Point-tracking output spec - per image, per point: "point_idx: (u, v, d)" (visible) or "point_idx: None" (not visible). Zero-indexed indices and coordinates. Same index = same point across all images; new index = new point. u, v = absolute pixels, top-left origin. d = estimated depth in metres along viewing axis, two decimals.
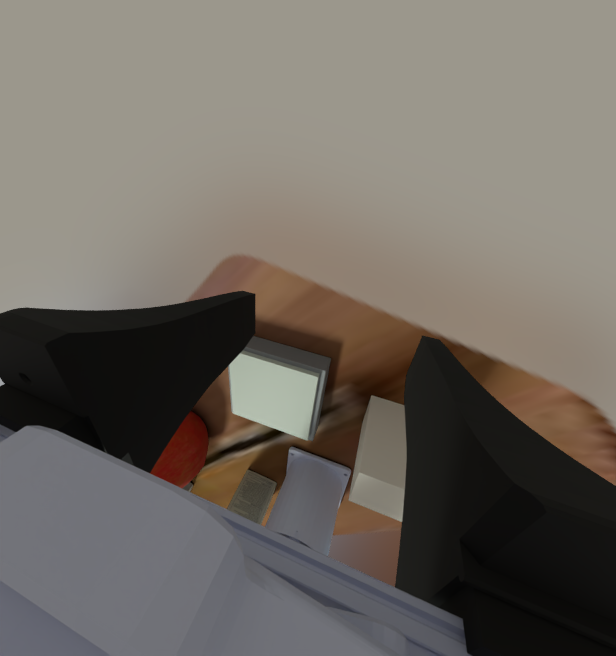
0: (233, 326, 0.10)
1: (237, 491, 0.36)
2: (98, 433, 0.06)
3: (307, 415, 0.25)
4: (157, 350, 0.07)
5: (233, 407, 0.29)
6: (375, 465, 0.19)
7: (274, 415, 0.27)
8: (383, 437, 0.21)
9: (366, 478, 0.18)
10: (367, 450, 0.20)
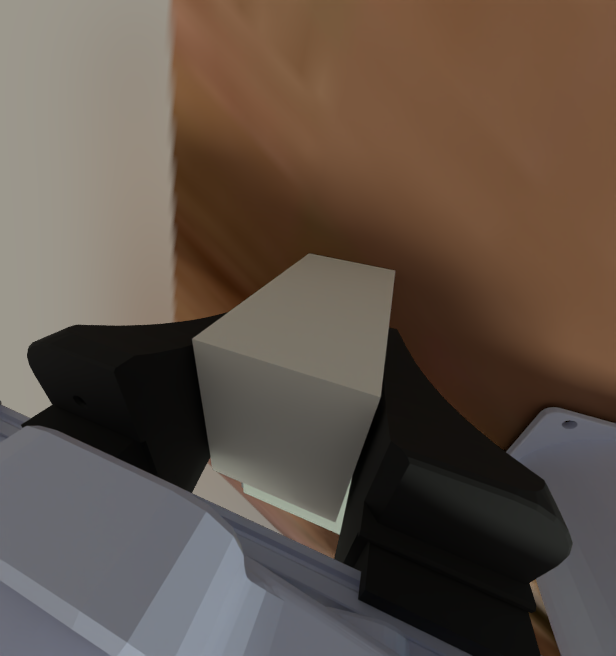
0: None
1: None
2: (152, 457, 0.05)
3: None
4: None
5: None
6: None
7: None
8: None
9: (222, 463, 0.08)
10: None
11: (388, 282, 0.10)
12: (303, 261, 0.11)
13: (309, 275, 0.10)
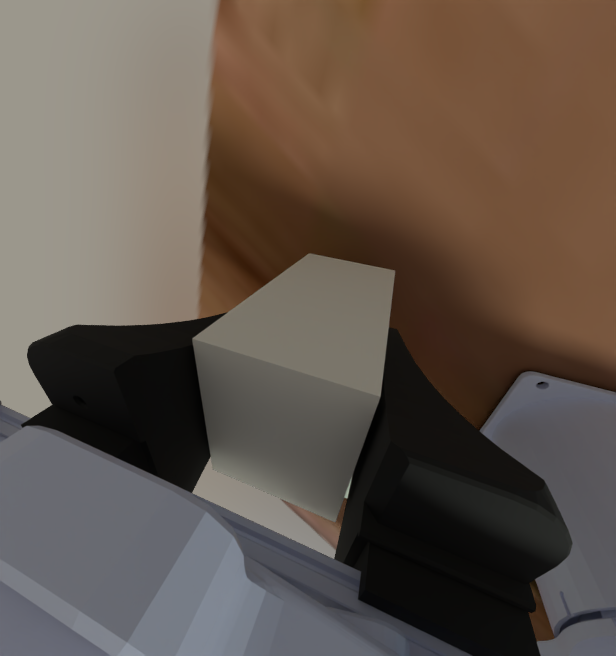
0: None
1: None
2: (152, 457, 0.05)
3: None
4: None
5: (347, 497, 0.21)
6: None
7: None
8: None
9: (222, 462, 0.08)
10: None
11: (388, 282, 0.10)
12: (303, 262, 0.11)
13: (309, 275, 0.10)
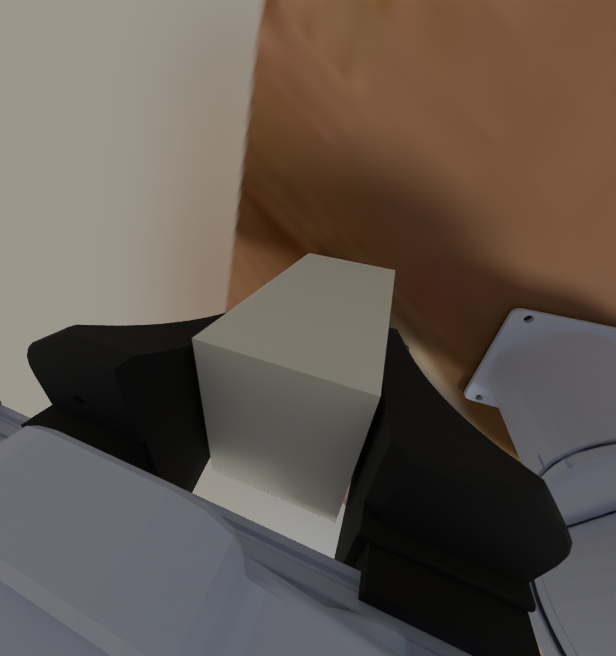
0: None
1: None
2: (153, 457, 0.05)
3: None
4: None
5: None
6: None
7: None
8: None
9: (221, 462, 0.08)
10: None
11: (389, 282, 0.10)
12: (303, 261, 0.11)
13: (309, 274, 0.10)
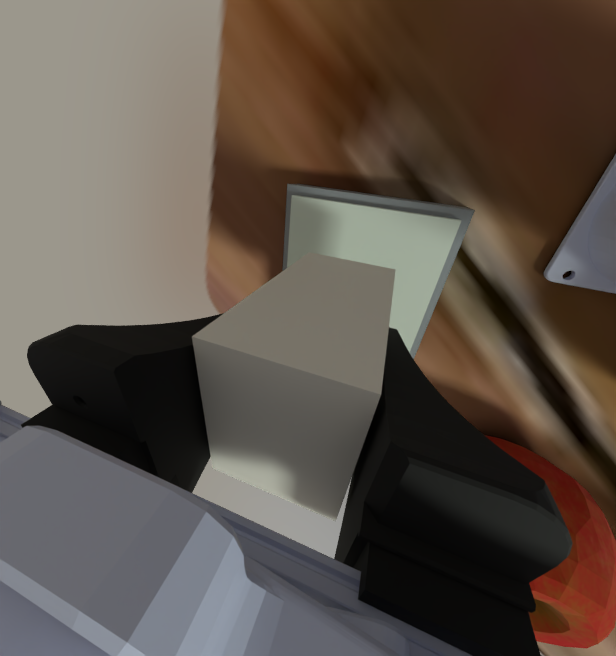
0: None
1: None
2: (152, 457, 0.05)
3: (382, 217, 0.14)
4: None
5: None
6: None
7: (395, 285, 0.15)
8: None
9: (221, 461, 0.08)
10: None
11: (389, 281, 0.10)
12: (303, 260, 0.11)
13: (309, 274, 0.10)
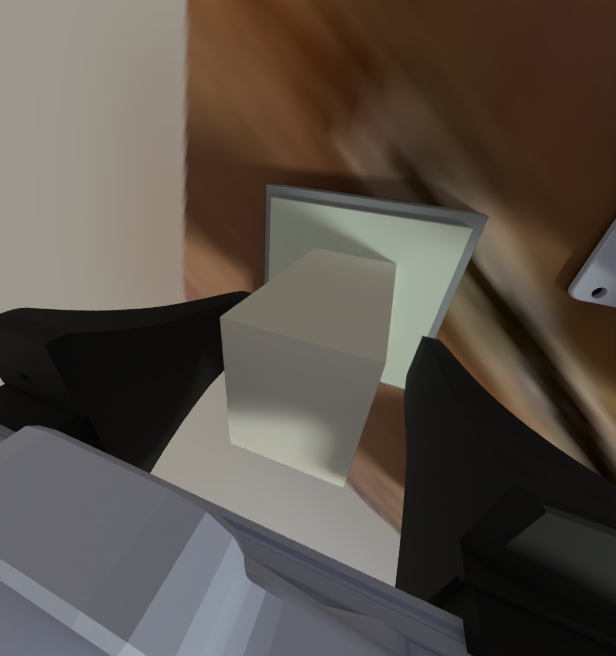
0: None
1: None
2: (98, 433, 0.06)
3: (377, 224, 0.11)
4: (157, 350, 0.07)
5: (388, 381, 0.15)
6: None
7: (393, 303, 0.13)
8: None
9: (239, 435, 0.08)
10: None
11: (391, 274, 0.11)
12: (310, 255, 0.12)
13: (317, 267, 0.10)
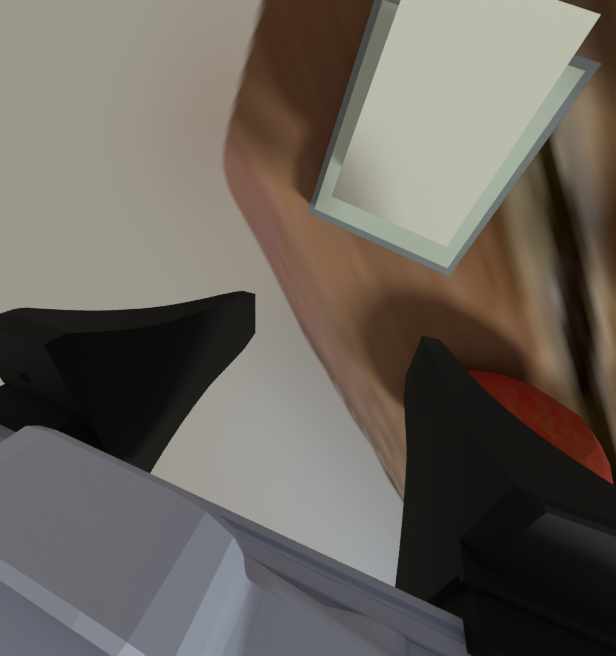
0: (233, 326, 0.10)
1: None
2: (98, 433, 0.06)
3: None
4: (157, 350, 0.07)
5: (433, 259, 0.15)
6: None
7: None
8: None
9: (350, 180, 0.08)
10: None
11: None
12: None
13: None
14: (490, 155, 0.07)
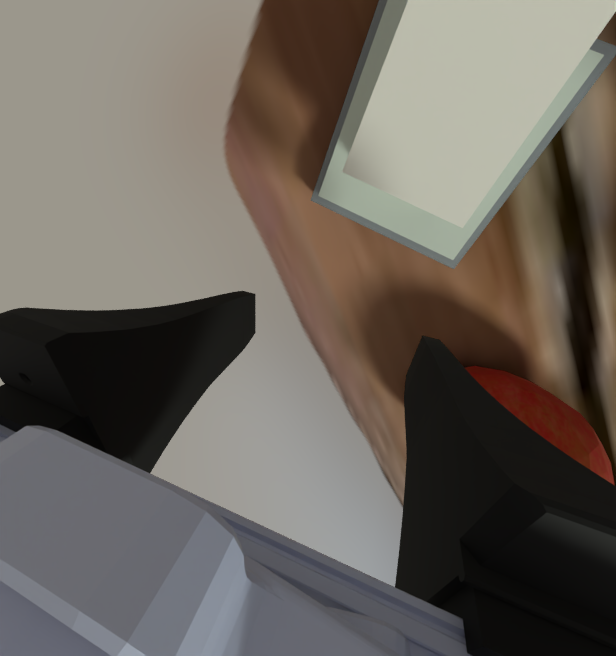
0: (233, 326, 0.10)
1: None
2: (98, 433, 0.06)
3: None
4: (157, 350, 0.07)
5: (438, 250, 0.15)
6: None
7: None
8: None
9: (362, 154, 0.07)
10: None
11: None
12: None
13: None
14: (515, 127, 0.06)
